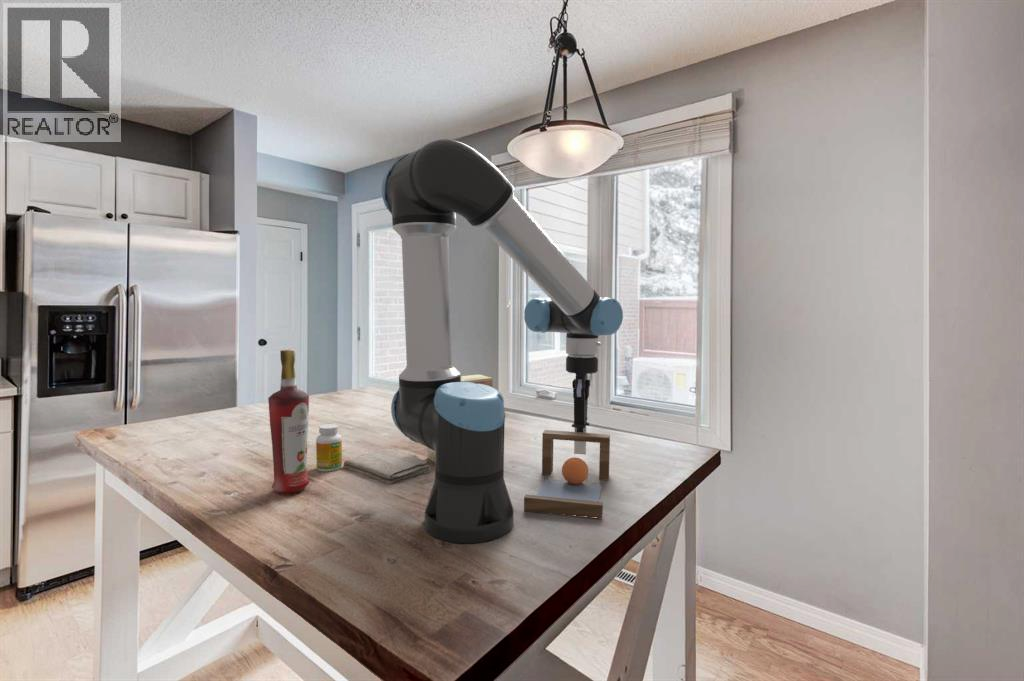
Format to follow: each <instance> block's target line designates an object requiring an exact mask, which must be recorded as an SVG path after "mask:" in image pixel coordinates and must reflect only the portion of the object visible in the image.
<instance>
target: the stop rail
mask: <svg viewBox="0 0 1024 681" xmlns="http://www.w3.org/2000/svg"><path fill="white" fill-rule="evenodd" d="M603 506H604V501H599V502H596V501H587V500H577V499H567V498H557V497H547V496H537V494H535V495H534V494H527V493H526V494H525V496H524V497H523V511H524V512H530V511H534V512H533V513H539V512H544V513H543V514H548V513H552V514H551V515H558V514H565V515H564V516H567V515H576V516H587V517H597V518H602V519H603V516H602V515H603V510H604V509H603ZM576 516H575V517H576Z"/></svg>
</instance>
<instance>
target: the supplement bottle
mask: <svg viewBox="0 0 1024 681" xmlns="http://www.w3.org/2000/svg"><path fill="white" fill-rule="evenodd" d="M318 432H319V435H318V436H317V437H316V439H315V440H316V441H315V442H316V443H315V449H316V453H315V454H316V470H317V471H319V472H324V473H327V472H328V471H329V472H335V471H338V470H340V469H341V468H342V466H343V454H342V453H343V452H342V451H343V450H342V449H343V447H342V446H343V444H342V443H343V442H342V441H343V440H342V439H343V438H342V435H341V434H339V433H338V432H339V425H338V424H335V423H328V424H322V425H320V426H319V430H318Z"/></svg>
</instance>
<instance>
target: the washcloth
mask: <svg viewBox="0 0 1024 681" xmlns="http://www.w3.org/2000/svg"><path fill="white" fill-rule="evenodd" d="M427 463H428V461H427V460H425V459H422V458H419V457H417V454H410V453H406V452H403V451H400V450H395V449H392V448H390V447H389V448H382V449H378V450H374V451H373V452H370V453H368V454H364V455H359V456H356V457H351V458H349V459H346V460H345V461H344V462H343V465H342V466H343V468H344V469H347V468H348V470H350V469H351V471H352V470H353V471H354V472H355V471H356V473H359V474H360V473H361V474H360V475H363V476H367V477H370V478H373V479H377V481H378V480H379V481H382V482H383V483H386V484H389V485H392V484H393V483H399V482H403V481H405V480H410V479H411V478H414V477H417V476H421V475H423V474H426V473H429V472H430V471H431V468H430V465H429V464H427ZM425 472H426V473H425ZM420 474H421V475H420Z"/></svg>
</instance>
